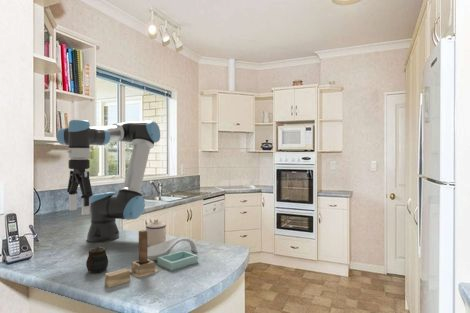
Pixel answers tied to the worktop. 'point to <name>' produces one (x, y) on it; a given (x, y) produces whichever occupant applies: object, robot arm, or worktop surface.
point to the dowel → (143, 247)
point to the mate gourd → (97, 260)
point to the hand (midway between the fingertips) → (79, 212)
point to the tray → (177, 260)
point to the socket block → (143, 269)
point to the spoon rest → (166, 248)
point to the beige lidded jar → (155, 232)
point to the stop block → (117, 277)
